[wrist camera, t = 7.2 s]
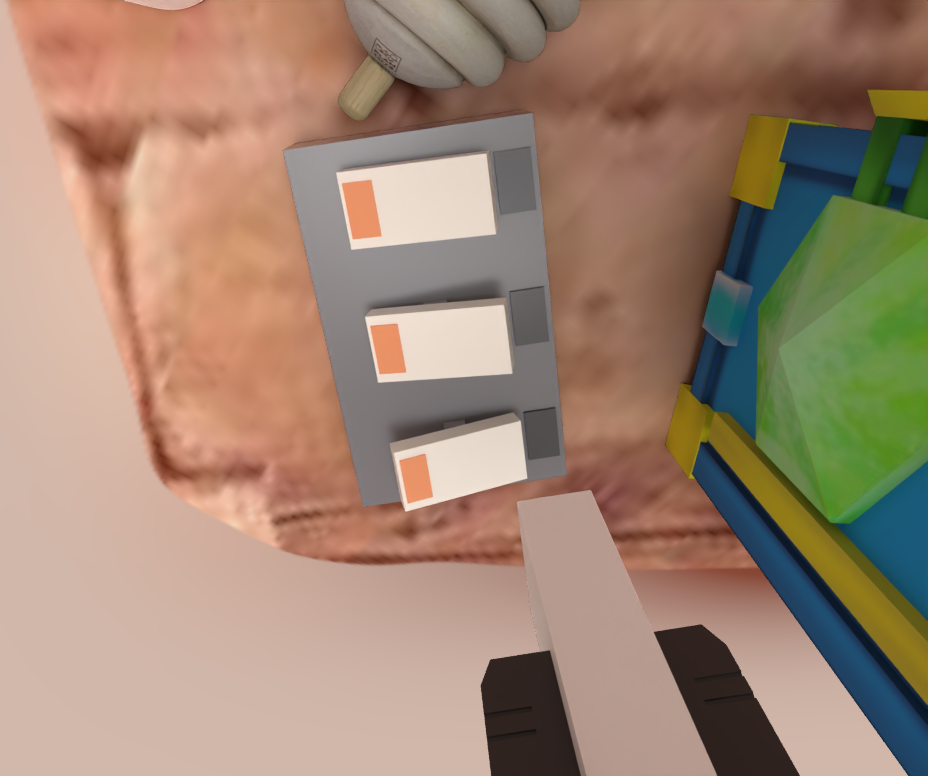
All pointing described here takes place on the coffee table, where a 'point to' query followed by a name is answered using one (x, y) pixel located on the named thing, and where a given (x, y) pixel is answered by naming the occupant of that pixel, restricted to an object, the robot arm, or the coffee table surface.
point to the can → (166, 3)
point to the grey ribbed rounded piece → (444, 42)
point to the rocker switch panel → (433, 294)
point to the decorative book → (828, 396)
